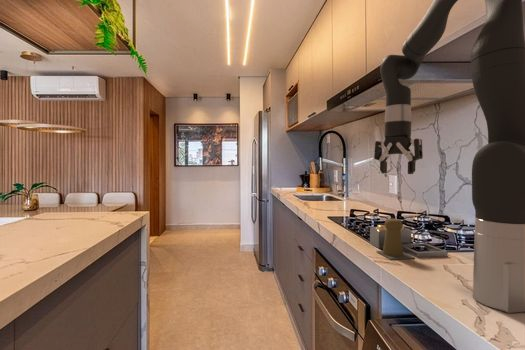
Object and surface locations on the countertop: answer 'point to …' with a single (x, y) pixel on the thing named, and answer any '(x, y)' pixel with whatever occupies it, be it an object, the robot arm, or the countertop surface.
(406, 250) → the housing
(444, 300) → the countertop surface
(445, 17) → the robot arm
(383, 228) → the plunger
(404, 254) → the mat
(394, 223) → the cork
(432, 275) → the countertop surface
